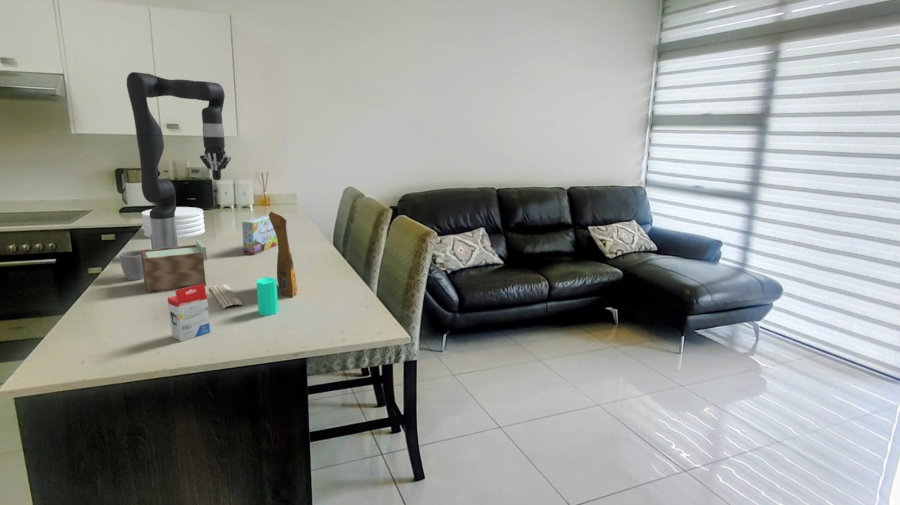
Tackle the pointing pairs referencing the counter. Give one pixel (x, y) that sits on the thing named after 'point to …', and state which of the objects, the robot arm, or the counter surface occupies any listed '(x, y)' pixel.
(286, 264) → the pancake mix bag
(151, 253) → the lid
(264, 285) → the candle
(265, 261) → the counter surface
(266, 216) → the snack box
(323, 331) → the counter surface
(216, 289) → the newspaper
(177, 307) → the ink box
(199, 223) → the plate stack
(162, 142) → the robot arm
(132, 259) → the mug
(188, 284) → the box
